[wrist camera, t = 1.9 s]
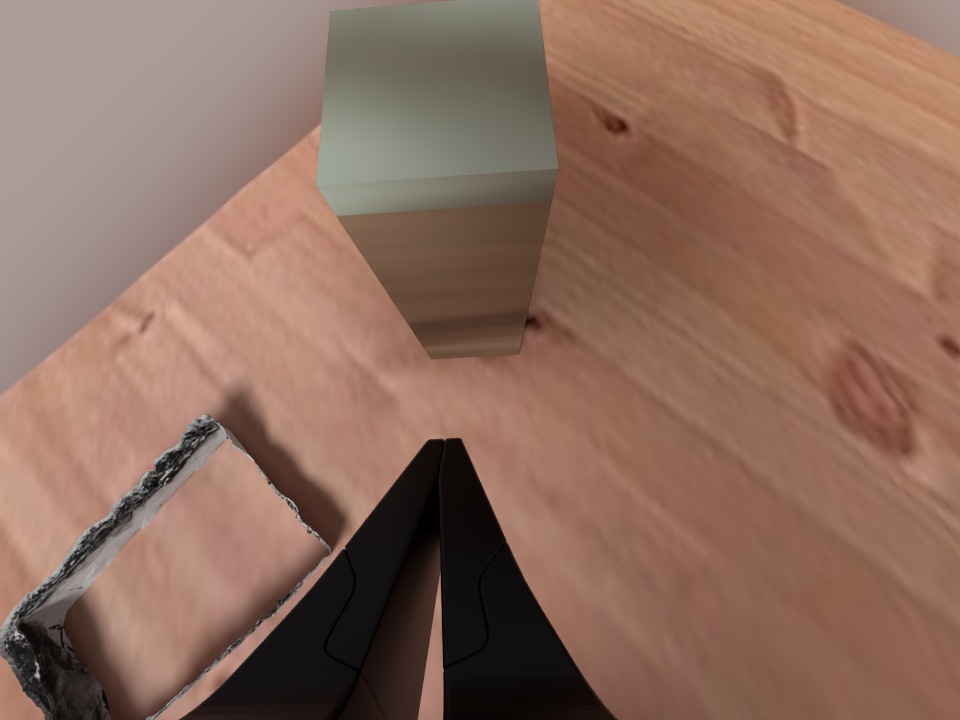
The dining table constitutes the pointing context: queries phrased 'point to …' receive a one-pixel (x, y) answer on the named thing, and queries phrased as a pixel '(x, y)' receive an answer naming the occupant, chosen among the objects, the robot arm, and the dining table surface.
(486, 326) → the grey-green metal block
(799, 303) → the dining table surface
